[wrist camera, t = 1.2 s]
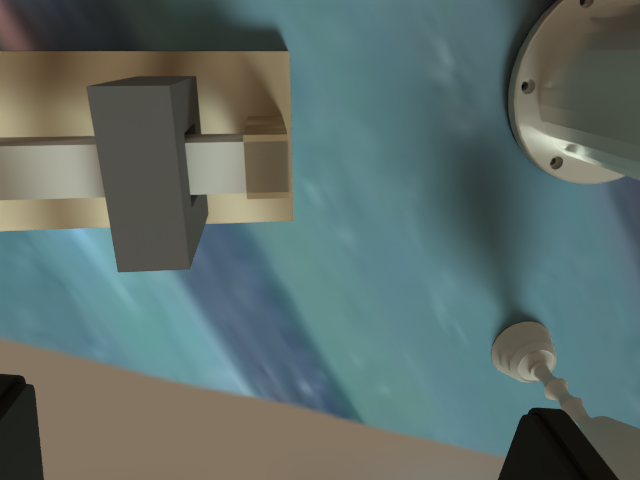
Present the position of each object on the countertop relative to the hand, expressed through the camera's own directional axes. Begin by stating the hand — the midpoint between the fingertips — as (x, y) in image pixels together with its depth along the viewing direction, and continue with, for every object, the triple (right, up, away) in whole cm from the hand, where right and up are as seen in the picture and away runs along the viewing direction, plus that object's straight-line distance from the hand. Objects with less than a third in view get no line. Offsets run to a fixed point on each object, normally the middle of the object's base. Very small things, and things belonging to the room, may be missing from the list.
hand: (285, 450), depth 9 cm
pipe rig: (-14, +10, +19) cm, 26 cm away
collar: (-7, +9, +17) cm, 21 cm away
